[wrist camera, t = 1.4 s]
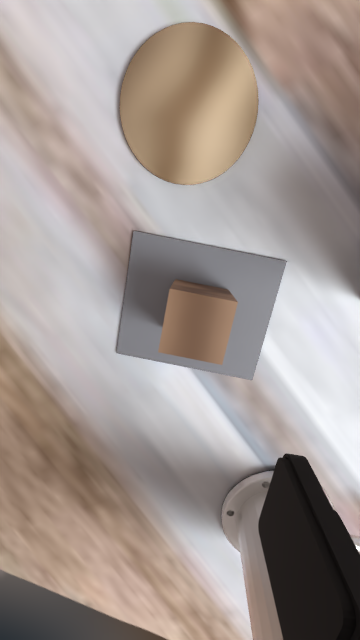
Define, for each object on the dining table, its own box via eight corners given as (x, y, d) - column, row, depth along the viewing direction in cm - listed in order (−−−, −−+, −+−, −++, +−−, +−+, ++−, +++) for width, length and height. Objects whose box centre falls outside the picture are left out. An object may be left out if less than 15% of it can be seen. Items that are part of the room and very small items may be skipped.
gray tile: (285, 261, 25) (286, 261, 25) (251, 379, 28) (252, 380, 28) (134, 230, 25) (133, 230, 25) (116, 352, 28) (116, 353, 28)
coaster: (273, 41, 21) (275, 37, 20) (238, 196, 24) (238, 195, 23) (131, 13, 21) (130, 9, 20) (113, 171, 24) (111, 170, 23)
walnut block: (228, 289, 26) (237, 302, 20) (216, 339, 27) (222, 365, 21) (175, 279, 26) (169, 288, 20) (166, 329, 27) (158, 352, 21)
